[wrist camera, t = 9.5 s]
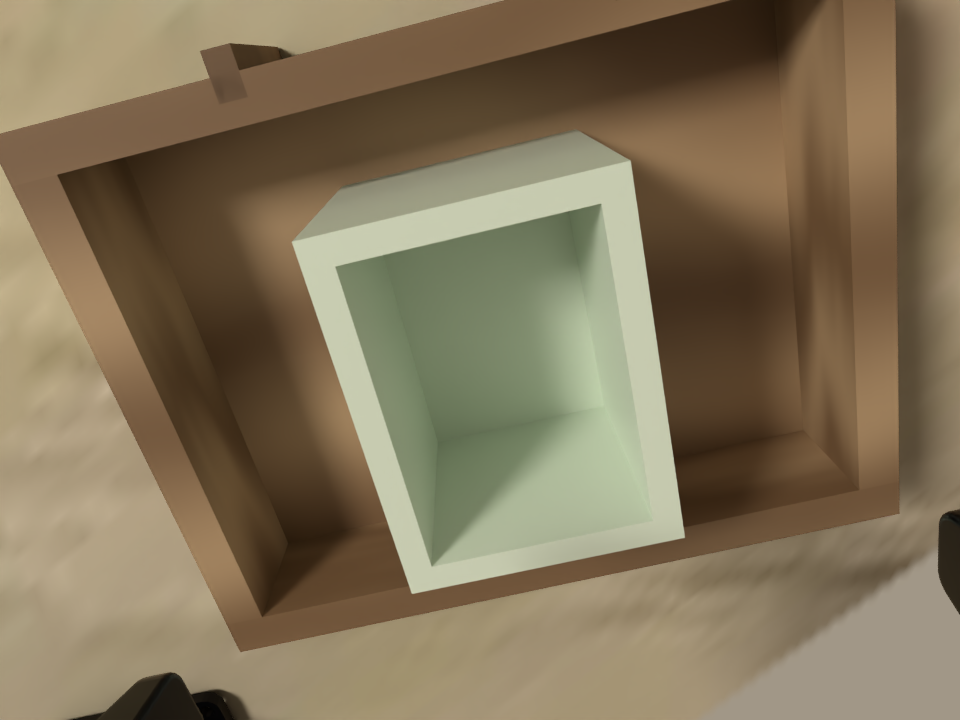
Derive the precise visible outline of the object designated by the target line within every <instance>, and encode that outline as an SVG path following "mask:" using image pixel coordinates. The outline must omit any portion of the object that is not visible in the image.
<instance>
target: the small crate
mask: <svg viewBox="0 0 960 720" xmlns="http://www.w3.org/2000/svg"><path fill="white" fill-rule="evenodd" d="M292 244H293V247H294V250H295V253H296V256H297V259H298V262H299V265H300V268H301V271H302V274H303V276H304V279H305V282H306V285H307V288H308V291H309V294H310V297H311V300H312V303H313V306H314V309H315V312H316V315H317V317H318V320H319V323H320V326H321V329H322V332H323V335H324V338H325V341H326V344H327V347H328V350H329V353H330V356H331V358H332V361H333V364H334V367H335V370H336V373H337V376H338V379H339V382H340V385H341V388H342V391H343V394H344V396H345V399H346V402H347V405H348V408H349V411H350V414H351V417H352V420H353V423H354V426H355V429H356V432H357V435H358V437H359V440H360V443H361V446H362V449H363V452H364V455H365V458H366V461H367V464H368V467H369V470H370V473H371V476H372V478H373V481H374V484H375V487H376V490H377V493H378V496H379V499H380V502H381V505H382V508H383V511H384V514H385V517H386V519H387V522H388V525H389V528H390V531H391V534H392V537H393V540H394V543H395V546H396V549H397V552H398V555H399V557H400V560H401V563H402V566H403V569H404V572H405V575H406V578H407V581H408V584H409V587H410V590H411V593H412V594H415V593H420V592H424V591H429V590H434V589H439V588H444V587H449V586H453V585H458V584H463V583H468V582H473V581H478V580H483V579H487V578H492V577H497V576H502V575H507V574H512V573H516V572H521V571H526V570H531V569H536V568H541V567H546V566H550V565H555V564H560V563H565V562H570V561H575V560H579V559H584V558H589V557H594V556H599V555H604V554H609V553H613V552H618V551H623V550H628V549H633V548H638V547H642V546H647V545H652V544H657V543H662V542H667V541H672V540H676V539H681V538H685V534H684V527H683V521H682V514H681V507H680V500H679V493H678V486H677V479H676V472H675V465H674V458H673V451H672V444H671V437H670V430H669V423H668V416H667V410H666V403H665V396H664V389H663V382H662V375H661V368H660V361H659V354H658V347H657V340H656V333H655V326H654V319H653V312H652V305H651V298H650V292H649V285H648V278H647V271H646V264H645V257H644V250H643V243H642V236H641V229H640V222H639V215H638V208H637V201H636V194H635V187H634V180H633V174H632V167H631V160H629V159H627V158H625V157H624V156H622V155H620V154H618V153H617V152H615V151H613V150H611V149H610V148H608V147H606V146H604V145H603V144H601V143H599V142H597V141H596V140H594V139H592V138H590V137H589V136H587V135H585V134H583V133H582V132H580V131H578V130H576V129H575V130H571V131H567V132H562V133H558V134H554V135H550V136H546V137H542V138H538V139H534V140H530V141H525V142H521V143H517V144H513V145H509V146H505V147H501V148H497V149H493V150H489V151H484V152H480V153H476V154H472V155H468V156H464V157H460V158H456V159H452V160H448V161H443V162H439V163H435V164H431V165H427V166H423V167H419V168H415V169H411V170H407V171H402V172H398V173H394V174H390V175H386V176H382V177H378V178H374V179H370V180H366V181H361V182H357V183H353V184H349V185H345V186H342V187H341V188H340V189H339V191H338V192H337V193H336V194H335V195H334V196H333V197H332V198H331V199H330V200H329V201H328V203H327V204H326V205H325V206H324V207H323V208H322V209H321V210H320V211H319V212H318V214H317V215H316V216H315V217H314V218H313V219H312V220H311V221H310V222H309V223H308V225H307V226H306V227H305V228H304V229H303V230H302V231H301V232H300V233H299V234H298V235H297V237H296V238H295V239H294V240H293V241H292Z"/></svg>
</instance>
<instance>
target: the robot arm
mask: <svg viewBox="0 0 960 720" xmlns="http://www.w3.org/2000/svg"><path fill="white" fill-rule="evenodd" d="M938 573H939V578H940V581H941V584H942V586H943V588H944V590H945V592H946V594H947V595H948V597H949V598H950V600H951V602H952V603H953V605H954V606H955V608H956V609H957V611H958V612H959V614H960V509H959V510H954V511H949V512H947V513H945V514H943V515H942V517H941V519H940V522H939V544H938ZM209 707H210V708H209ZM75 720H234V719H233V717H232V715H231V713H230V711H229V709H228V707H227V706H226V704H225V702H224V700H223V699H222V697H221V696H219V695H218V694H216V693H212V692H206V693H200V694H195V695H191V694H190V692H189V691H188V689H187V687H186V685H185V683H184V682H183V680H182V678H181V677H180V676H179V675H177V674H176V673H171V672H170V673H164V674H159V675H154V676H150V677H146V678H143V679H141V680H139V681H138V682H136V683H135V684H134V685H133V686H132V687H131V688H130V689H129V690H128V691H127V692H126V693H125V694H124V695H122V696H121V697H120V698H119V699H118V700H117V701H116V702H115V703H114V704H113V705H112V706H111V707H110V708H109V709H108V710H107V711H106V712H105V713H103V714H99V715H94V716H89V717H84V718H80V719H75Z"/></svg>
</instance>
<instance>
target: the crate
mask: <svg viewBox="0 0 960 720" xmlns="http://www.w3.org/2000/svg"><path fill="white" fill-rule="evenodd" d="M200 52H201V55H202V58H203V61H204V63H205V66H206V69H207V72H208V75H209V77H210V78H209V79H205V80H202V81H198V82H194V83H190V84H186V85H183V86H179V87H175V88H171V89H167V90H164V91H160V92H156V93H152V94H149V95H145V96H141V97H137V98H133V99H130V100H126V101H122V102H118V103H115V104H111V105H107V106H103V107H99V108H96V109H92V110H88V111H84V112H81V113H77V114H73V115H69V116H65V117H62V118H58V119H54V120H50V121H47V122H43V123H39V124H35V125H31V126H28V127H24V128H20V129H16V130H13V131H9V132H5V133H1V134H0V164H1V166H2V168H3V170H4V172H5V174H6V176H7V178H8V180H9V182H10V184H11V187H12V189H13V191H14V193H15V195H16V197H17V199H18V201H19V203H20V205H21V207H22V209H23V211H24V213H25V215H26V217H27V219H28V221H29V223H30V225H31V227H32V229H33V231H34V233H35V235H36V237H37V239H38V241H39V243H40V246H41V248H42V250H43V252H44V254H45V256H46V258H47V260H48V262H49V264H50V266H51V268H52V270H53V272H54V274H55V276H56V278H57V280H58V282H59V284H60V286H61V288H62V290H63V292H64V294H65V296H66V298H67V300H68V302H69V305H70V307H71V309H72V311H73V313H74V315H75V317H76V319H77V321H78V323H79V325H80V327H81V329H82V331H83V333H84V335H85V337H86V339H87V341H88V343H89V345H90V347H91V349H92V351H93V353H94V355H95V357H96V359H97V361H98V363H99V366H100V368H101V370H102V372H103V374H104V376H105V378H106V380H107V382H108V384H109V386H110V388H111V390H112V392H113V394H114V396H115V398H116V400H117V402H118V404H119V406H120V408H121V410H122V412H123V414H124V416H125V418H126V420H127V422H128V425H129V427H130V429H131V431H132V433H133V435H134V437H135V439H136V441H137V443H138V445H139V447H140V449H141V451H142V453H143V455H144V457H145V459H146V461H147V463H148V465H149V467H150V469H151V471H152V473H153V475H154V477H155V479H156V481H157V484H158V486H159V488H160V490H161V492H162V494H163V496H164V498H165V500H166V502H167V504H168V506H169V508H170V510H171V512H172V514H173V516H174V518H175V520H176V522H177V524H178V526H179V528H180V530H181V532H182V534H183V536H184V538H185V540H186V543H187V545H188V547H189V549H190V551H191V553H192V555H193V557H194V559H195V561H196V563H197V565H198V567H199V569H200V571H201V573H202V575H203V577H204V579H205V581H206V583H207V585H208V587H209V589H210V591H211V593H212V595H213V597H214V599H215V601H216V604H217V606H218V608H219V610H220V612H221V614H222V616H223V618H224V620H225V622H226V624H227V626H228V628H229V630H230V632H231V634H232V636H233V638H234V640H235V642H236V644H237V646H238V648H239V650H240V652H243V651H248V650H252V649H257V648H262V647H267V646H271V645H276V644H281V643H286V642H291V641H295V640H300V639H305V638H310V637H314V636H319V635H324V634H329V633H333V632H338V631H343V630H348V629H352V628H357V627H362V626H367V625H371V624H376V623H381V622H386V621H390V620H395V619H400V618H405V617H409V616H414V615H419V614H424V613H428V612H433V611H438V610H443V609H448V608H452V607H457V606H462V605H467V604H471V603H476V602H481V601H486V600H490V599H495V598H500V597H505V596H509V595H514V594H519V593H524V592H528V591H533V590H538V589H543V588H547V587H552V586H557V585H562V584H566V583H571V582H576V581H581V580H585V579H590V578H595V577H600V576H605V575H609V574H614V573H619V572H624V571H628V570H633V569H638V568H643V567H647V566H652V565H657V564H662V563H666V562H671V561H676V560H681V559H685V558H690V557H695V556H700V555H704V554H709V553H714V552H719V551H723V550H728V549H733V548H738V547H742V546H747V545H752V544H757V543H762V542H766V541H771V540H776V539H781V538H785V537H790V536H795V535H800V534H804V533H809V532H814V531H819V530H823V529H828V528H833V527H838V526H842V525H847V524H852V523H857V522H861V521H866V520H871V519H876V518H880V517H885V516H890V515H895V514H899V406H898V276H897V147H896V18H895V0H504V1H500V2H496V3H493V4H489V5H485V6H481V7H477V8H474V9H470V10H466V11H462V12H459V13H455V14H451V15H447V16H443V17H440V18H436V19H432V20H428V21H424V22H421V23H417V24H413V25H409V26H406V27H402V28H398V29H394V30H390V31H387V32H383V33H379V34H375V35H372V36H368V37H364V38H360V39H356V40H353V41H349V42H345V43H341V44H338V45H334V46H330V47H326V48H322V49H319V50H315V51H311V52H307V53H304V54H300V55H296V56H292V57H288V58H285V59H281V56H280V53H279V50H278V47H270V46H257V45H244V44H231V43H229V44H225V45H222V46H218V47H214V48H210V49H207V50H203V51H200ZM575 129H576V130H578V131H580V132H582V133H583V134H585V135H587V136H589V137H590V138H592V139H594V140H596V141H597V142H599V143H601V144H603V145H604V146H606V147H608V148H610V149H611V150H613V151H615V152H617V153H618V154H620V155H622V156H624V157H625V158H627V159H629V160H631V167H632V174H633V180H634V187H635V194H636V201H637V208H638V215H639V222H640V229H641V236H642V243H643V250H644V257H645V264H646V271H647V278H648V285H649V292H650V298H651V305H652V312H653V319H654V326H655V333H656V340H657V347H658V354H659V361H660V368H661V375H662V382H663V389H664V396H665V403H666V410H667V416H668V423H669V430H670V437H671V444H672V451H673V458H674V465H675V472H676V479H677V486H678V493H679V500H680V507H681V514H682V521H683V527H684V534H685V538H681V539H676V540H672V541H667V542H662V543H657V544H652V545H647V546H642V547H638V548H633V549H628V550H623V551H618V552H613V553H609V554H604V555H599V556H594V557H589V558H584V559H579V560H575V561H570V562H565V563H560V564H555V565H550V566H546V567H541V568H536V569H531V570H526V571H521V572H516V573H512V574H507V575H502V576H497V577H492V578H487V579H483V580H478V581H473V582H468V583H463V584H458V585H453V586H449V587H444V588H439V589H434V590H429V591H424V592H420V593H415V594H412V593H411V590H410V587H409V584H408V581H407V578H406V575H405V572H404V569H403V566H402V563H401V560H400V557H399V555H398V552H397V549H396V546H395V543H394V540H393V537H392V534H391V531H390V528H389V525H388V522H387V519H386V517H385V514H384V511H383V508H382V505H381V502H380V499H379V496H378V493H377V490H376V487H375V484H374V481H373V478H372V476H371V473H370V470H369V467H368V464H367V461H366V458H365V455H364V452H363V449H362V446H361V443H360V440H359V437H358V435H357V432H356V429H355V426H354V423H353V420H352V417H351V414H350V411H349V408H348V405H347V402H346V399H345V396H344V394H343V391H342V388H341V385H340V382H339V379H338V376H337V373H336V370H335V367H334V364H333V361H332V358H331V356H330V353H329V350H328V347H327V344H326V341H325V338H324V335H323V332H322V329H321V326H320V323H319V320H318V317H317V315H316V312H315V309H314V306H313V303H312V300H311V297H310V294H309V291H308V288H307V285H306V282H305V279H304V276H303V274H302V271H301V268H300V265H299V262H298V259H297V256H296V253H295V250H294V247H293V244H292V241H293V240H294V239H295V238H296V237H297V235H298V234H299V233H300V232H301V231H302V230H303V229H304V228H305V227H306V226H307V225H308V223H309V222H310V221H311V220H312V219H313V218H314V217H315V216H316V215H317V214H318V212H319V211H320V210H321V209H322V208H323V207H324V206H325V205H326V204H327V203H328V201H329V200H330V199H331V198H332V197H333V196H334V195H335V194H336V193H337V192H338V191H339V189H340V188H341V187H342V186H345V185H349V184H353V183H357V182H361V181H366V180H370V179H374V178H378V177H382V176H386V175H390V174H394V173H398V172H402V171H407V170H411V169H415V168H419V167H423V166H427V165H431V164H435V163H439V162H443V161H448V160H452V159H456V158H460V157H464V156H468V155H472V154H476V153H480V152H484V151H489V150H493V149H497V148H501V147H505V146H509V145H513V144H517V143H521V142H525V141H530V140H534V139H538V138H542V137H546V136H550V135H554V134H558V133H562V132H567V131H571V130H575Z"/></svg>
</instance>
